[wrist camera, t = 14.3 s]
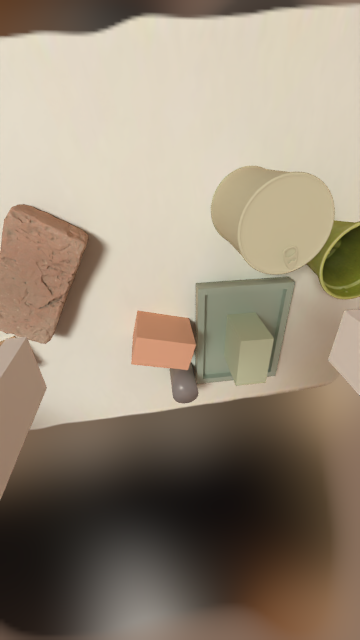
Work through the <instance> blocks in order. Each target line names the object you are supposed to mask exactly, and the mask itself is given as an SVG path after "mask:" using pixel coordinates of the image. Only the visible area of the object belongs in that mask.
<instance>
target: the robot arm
mask: <svg viewBox="0 0 360 640" xmlns="http://www.w3.org/2000/svg"><path fill="white" fill-rule="evenodd" d="M328 361H329V362H330V363H331V364H332V365H333V366H334V368H335V369H336V370H337V371H338V372H339V373H340V374H341V375H342V376H343V378H344V379H345V380H346V381H347V382H348V383H349V384H350V386H351V387H352V388H353V389H354V390H355V391H356V392H357V393H358V395H359V396H360V309H356V310H344V313H343V316H342V319H341V322H340V325H339V328H338V331H337V334H336V337H335V340H334V343H333V346H332V349H331V352H330V355H329V358H328ZM46 388H47V387H46V385H45V382H44V379H43V377H42V374H41V372H40V369H39V367H38V364H37V362H36V359H35V357H34V354H33V351H32V349H31V346H30V344H29V341H28V339H27V337H19V338H7V339H6V340H5V341H4V342H3V344H2V345H1V346H0V499H1V497H2V494H3V492H4V490H5V487H6V485H7V482H8V480H9V478H10V475H11V473H12V470H13V468H14V466H15V463H16V461H17V458H18V456H19V453H20V451H21V448H22V446H23V444H24V441H25V439H26V436H27V434H28V432H29V429H30V427H31V425H32V422H33V420H34V417H35V415H36V413H37V410H38V408H39V405H40V403H41V401H42V398H43V396H44V393H45V391H46Z"/></svg>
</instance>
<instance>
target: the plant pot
mask: <svg viewBox="0 0 360 640" xmlns="http://www.w3.org/2000/svg"><path fill="white" fill-rule="evenodd" d="M329 252H330V253H329ZM307 265H308V266H309V267H310V268H311V269H312V270H313V271H314V272H315V273H316V274H317V275H318V278H319V281H320V284H321V286H322V288H323V289H324V291H325V292H326V293H328V294H329V295H330V296H332V297H335V298H338V299H353V298H357V297H360V222H356V223H353V222H343V221H335V220H334V223H333V227H332V230H331V233H330V235H329V237H328V239H327V241H326V243H325V244H324V246H323V247H322V249H321V250H320V251H319V253H318V254H317V255H316V256H315V257H314V258H313V259H312V260H311V261H309V262H308V263H307Z"/></svg>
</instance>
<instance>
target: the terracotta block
mask: <svg viewBox="0 0 360 640" xmlns="http://www.w3.org/2000/svg"><path fill="white" fill-rule="evenodd" d="M195 347H196V343H195V339H194V335H193V332H192V328H191V324H190V321H189V318H183V317H177V316H170V315H163V314H156V313H149V312H143V311H137V316H136V322H135V327H134V333H133V346H132V363H131V364H134V365H144V366H153V367H163V368H173V369H182V370H188V368H189V365H190V362H191V359H192V356H193V353H194V350H195Z"/></svg>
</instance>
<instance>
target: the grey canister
mask: <svg viewBox="0 0 360 640" xmlns="http://www.w3.org/2000/svg"><path fill="white" fill-rule="evenodd" d="M170 375H171V384H172V392H173V398H174V399H175V400H176V401H177V402H179V403H189V402H192V401H194V400H195V399H196V398H197V396H198V388H197V384H196V380H195V375H194V371H193V367H192V364H191V363H190V365H189V368H188V370H182V369H173V368H170Z"/></svg>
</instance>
